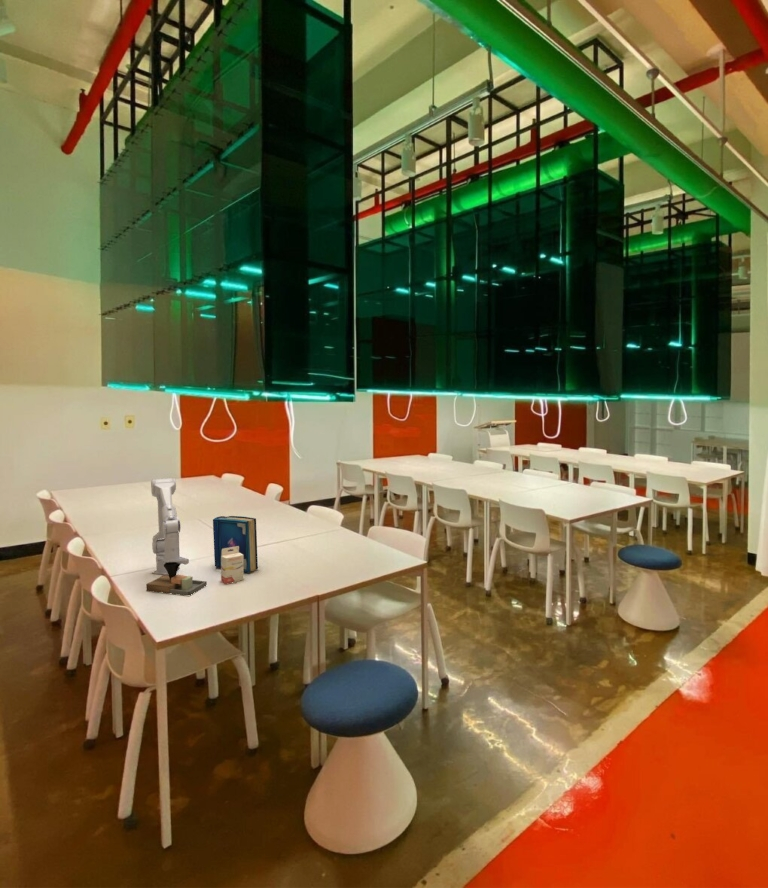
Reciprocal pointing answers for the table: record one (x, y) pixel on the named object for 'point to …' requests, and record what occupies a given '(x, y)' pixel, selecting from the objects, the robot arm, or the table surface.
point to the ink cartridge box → (231, 565)
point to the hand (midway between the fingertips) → (172, 579)
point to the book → (236, 539)
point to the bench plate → (162, 584)
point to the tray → (195, 587)
